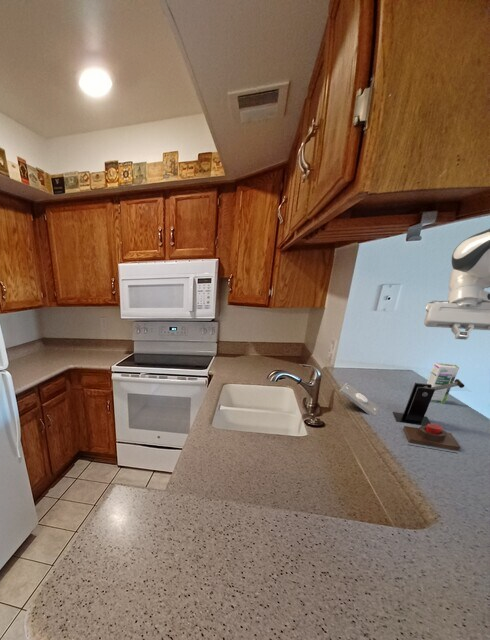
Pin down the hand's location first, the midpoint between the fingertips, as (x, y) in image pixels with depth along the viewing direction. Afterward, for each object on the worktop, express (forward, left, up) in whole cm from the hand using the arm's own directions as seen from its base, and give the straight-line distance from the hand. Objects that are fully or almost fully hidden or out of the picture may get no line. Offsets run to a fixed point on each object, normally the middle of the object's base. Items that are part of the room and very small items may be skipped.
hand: (461, 338), depth 104 cm
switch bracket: (+8, +12, -26) cm, 30 cm away
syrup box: (-3, -12, -26) cm, 29 cm away
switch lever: (+4, +12, -14) cm, 19 cm away
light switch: (+24, +8, -26) cm, 36 cm away
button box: (+6, +26, -26) cm, 37 cm away
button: (+6, +26, -22) cm, 35 cm away
